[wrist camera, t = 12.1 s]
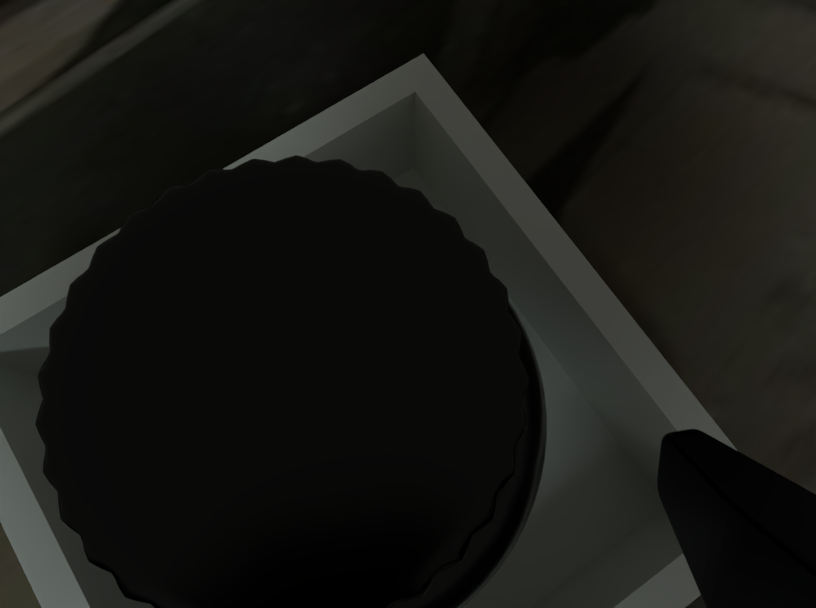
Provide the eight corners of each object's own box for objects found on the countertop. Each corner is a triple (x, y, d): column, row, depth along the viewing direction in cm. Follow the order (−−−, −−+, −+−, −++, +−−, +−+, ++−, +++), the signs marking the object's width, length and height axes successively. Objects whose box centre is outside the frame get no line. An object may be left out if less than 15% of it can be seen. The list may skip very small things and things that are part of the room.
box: (273, 836, 16) (219, 978, 11) (34, 380, 19) (-85, 346, 14) (693, 512, 18) (792, 520, 13) (419, 148, 21) (423, 53, 16)
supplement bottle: (215, 572, 17) (-194, 761, 5) (246, 318, 19) (-6, 44, 7) (480, 587, 17) (652, 808, 5) (484, 330, 19) (620, 75, 7)
